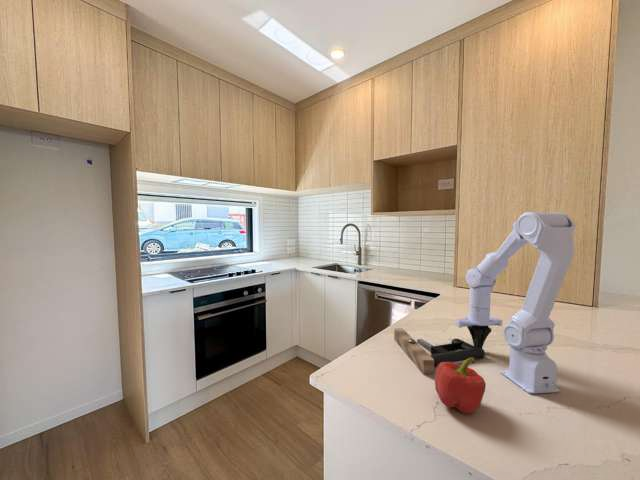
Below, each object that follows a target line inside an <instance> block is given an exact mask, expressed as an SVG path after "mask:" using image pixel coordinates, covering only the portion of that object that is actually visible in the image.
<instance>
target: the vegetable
mask: <svg viewBox="0 0 640 480" xmlns="http://www.w3.org/2000/svg"><path fill="white" fill-rule="evenodd" d="M471 363H473V364H475V363H476V362H475V359H474V358H468V359H466V360H465V361H464V362H463V363H461V365H458V363H457V364H455V363H454V362H441V363H440V364H439V365H437V367H436V371H435V377H434V387H435V391H436V393H437V395H438V397H439V399H440V402H441V403H442V404H444V405H445V406H446V407H448V408H456V409H457V410H458V411H460V412H461V413H463V414H471V413H474V412H476V410H478V409H479V408H480V406H481V404H482V401H483V398H484V394H485V391H486V384H487V383H486V382H485V379H484V378H483V376H481V375H480V374H479V373H478V372H477V371H476V370H475V369H473V368H471V367H469V365H470V364H471Z"/></svg>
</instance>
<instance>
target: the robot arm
mask: <svg viewBox="0 0 640 480" xmlns="http://www.w3.org/2000/svg"><path fill="white" fill-rule="evenodd" d="M512 228H513V229H512V231H511V232H510V233H509V235H507V238H506V239H505V240H504V241H503V243H502V244H501V245H500V246H499V248H498V249H497V250H496V251H492V252H489V253H488V252H487V253H486V255H485V258H483V260H482V261H481V262H480V263H479V264H478V265H477V266H476V267H474V268H470V269H468V270H467V272H466V273H465V281H466V284H468V286H469V297H468V298H469V299H468V300H469V303H468V316H467V317H464V318H459V319H455V326H456V327H458V328H460V329H461V328H465V327H466V328H467V329H468V332H469V334H470V336H471V340H472V343H473V344H472V345H473V346H475V347H477V348H478V347H479V348H482V349H483V347H484V344H485V342H486V339H487V337H488V336H489V335H490V334H491V333H492V328H491V327H490V326H497V327H503V320H502V319H501V318H498V317H490V316H491V295H492V294H491V293H492V292H493V288H494V286H496V283H497V279H496V278H498V276H499V275H501V274H502V272H504V270H505V269H506V268H507V267H508V266H509V259H510V258H511V257H512V256H514V255H515V254H516V253H517V252H519V250H520V249H522V248H523V247H524V246H525V245H527V244H528V243H529V244H530V245H531V246H533V248H535V249H536V250H538V252H539V253H540V255H539V258H538V260H537V263H536V267H535V269H534V273H533V276H532V279H531V280H530V284H529V286H528V289H527V292H526V295H525V298H524V301H523V303H522V307H521V309H520V310H519V311H517V312H515V313H514V314H513V315H512V316H510V320H508V321H509V322H507V323H506V324H505V325H504V327H503V331H502V334H503V337H504V340H505V341H506V342H507V345H508V346H509V359H508V361H509V363H508V364H509V365H508V369H506V370H505V369H504V370H500V373H501V374H502V375H503V376H505V377H507V378H508V379H509V380H510V381H512V382H513V383H514V384H515V385H517V386H518V387H519V388H521V389H523V390H524V391H525V392H526V393H528V394H530V395H533V394H548V393H559V392H560V389H558V388H557V383H558V382H557V379H558V378H557V377H558V365H557V363H556V362H555V361H554V360H553V359H552V358H551V357H549V356H548V354H547V353H546V351H547V350H548V346H549V345H551V344H552V343H553V342H554V340H555V335H554V334H555V333H554V329H555V322H554V321H552V319H551V318H550V316H551V313H552V311H553V308H554V305H555V303H556V301H557V298H558V296H559V293H560V290H561V288H562V285H563V283H564V280H565V277H566V276H567V272H568V270H569V268H570V265H571V262H572V260H573V258H574V255H575V246H574V236H573V233H574V231H575V229H576V223H574V221H573V220H572V218H571V217H570V216H569V215H568V214H566V213H564V212H560V211H555V212H534V211H527V212H524V213H523V214H521V215H520V216H519V217H518V219H517V220H516V221H515V222H514V223H513V226H512Z"/></svg>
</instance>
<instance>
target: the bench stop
mask: <svg viewBox="0 0 640 480" xmlns="http://www.w3.org/2000/svg"><path fill="white" fill-rule="evenodd" d="M393 329H394V330H393V340H394V342H396V343H397V345H398V346H399V347H400V348H401V350H402V351H403V352H404V353H405V354H406V356H407V357H408V358H409V359H410V360H411V362H412V363H413V364H414V366H416V368H417V369H418V370H419V372H420V373H422V375H434V374H435V366H434V359H433V358H432V357H431V356H430V355H431V354H429V352H427V351H426V349H425V348H424V347H422V346H421V345H419V344H418V343H417V340H415V339H414V338H413V337H412V336H411V335H410V334H409V333H408V331H406V330H405V329H404V328H403V327H397V328H396V327H395V328H393Z"/></svg>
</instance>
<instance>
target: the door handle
mask: <svg viewBox="0 0 640 480" xmlns="http://www.w3.org/2000/svg"><path fill="white" fill-rule="evenodd" d="M416 342H417V343H418V344H419V345H420V346H421V347H422V348H423V349H424V350H427V351H428V353H430V354H429V355H430V356H431V357H432V358H433V359H434V367H436V366H438V365H439V364H440V363H441V362H454V363H455V364H457V365H458V364H463V362H464V361H465V360H466V359H468V358H474V360H475V359H484V357H486V352H485V350H484V348H483V347H482V348H479V347H478V348H477V347H475V346H474V344H470V343H468V342H466V341H465V340H461V339H460V338H454V339H452V340H451V342H450V343H446V344H440V345H433V344H432V343H429V342H427V341H426V340H424V339H422V338H417V339H416Z"/></svg>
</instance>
